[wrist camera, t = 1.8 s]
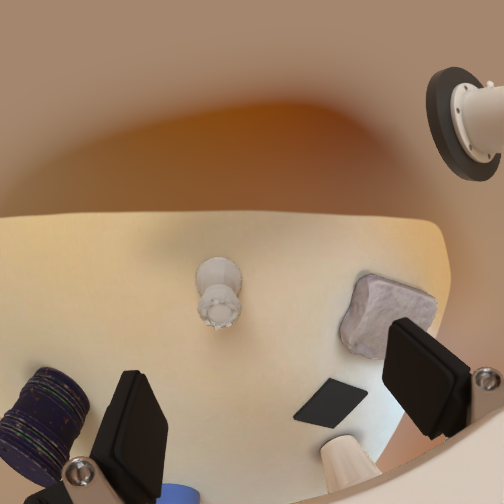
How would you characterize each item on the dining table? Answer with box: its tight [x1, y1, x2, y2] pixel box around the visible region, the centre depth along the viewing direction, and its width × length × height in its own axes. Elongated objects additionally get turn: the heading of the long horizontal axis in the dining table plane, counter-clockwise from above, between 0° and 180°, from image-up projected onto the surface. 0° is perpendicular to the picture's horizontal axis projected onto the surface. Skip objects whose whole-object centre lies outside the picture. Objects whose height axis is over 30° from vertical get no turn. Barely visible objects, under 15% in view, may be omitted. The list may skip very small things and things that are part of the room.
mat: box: [293, 378, 368, 429], centre depth 34 cm, size 8×8×1 cm
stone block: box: [340, 274, 437, 359], centre depth 30 cm, size 12×5×10 cm
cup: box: [320, 435, 382, 494], centre depth 31 cm, size 10×10×13 cm
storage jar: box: [0, 367, 90, 488], centre depth 22 cm, size 10×10×15 cm
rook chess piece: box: [196, 257, 242, 330], centre depth 23 cm, size 4×4×8 cm
